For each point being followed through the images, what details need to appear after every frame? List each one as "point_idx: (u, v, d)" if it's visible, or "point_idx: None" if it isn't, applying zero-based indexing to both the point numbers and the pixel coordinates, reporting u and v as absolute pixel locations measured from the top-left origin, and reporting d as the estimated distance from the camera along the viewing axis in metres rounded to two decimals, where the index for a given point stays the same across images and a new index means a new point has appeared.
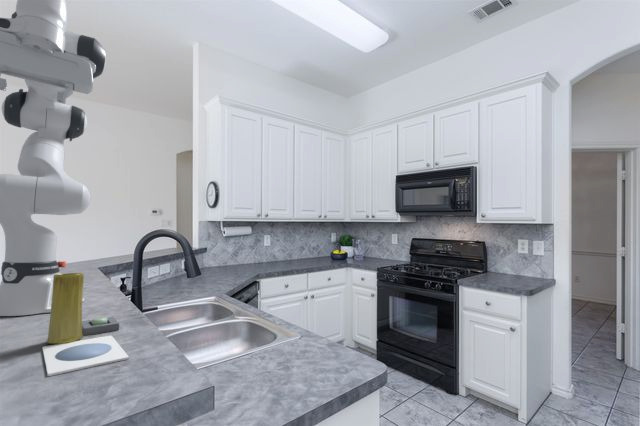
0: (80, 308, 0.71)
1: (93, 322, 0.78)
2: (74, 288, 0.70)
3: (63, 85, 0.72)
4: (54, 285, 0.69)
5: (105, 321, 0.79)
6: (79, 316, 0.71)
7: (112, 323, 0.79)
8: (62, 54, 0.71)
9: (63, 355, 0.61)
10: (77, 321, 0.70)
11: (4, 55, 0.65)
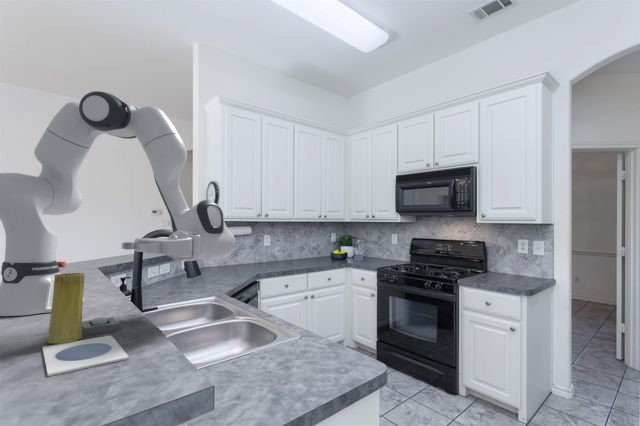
0: (80, 308, 0.71)
1: (93, 322, 0.78)
2: (75, 288, 0.70)
3: (143, 242, 0.87)
4: (55, 285, 0.69)
5: (105, 321, 0.79)
6: (80, 316, 0.71)
7: (112, 323, 0.79)
8: None
9: (63, 355, 0.61)
10: (77, 321, 0.70)
11: None
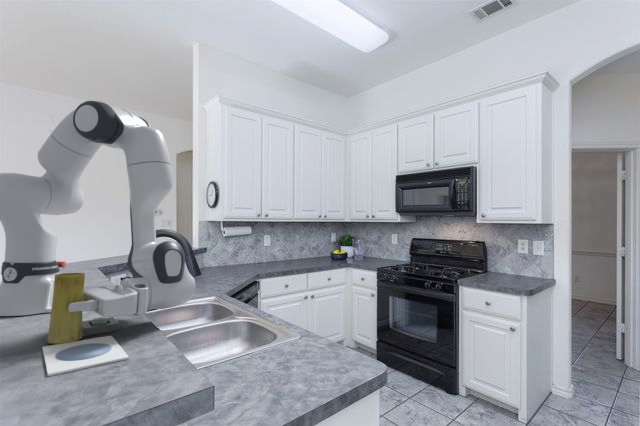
0: None
1: (93, 322, 0.78)
2: (75, 288, 0.70)
3: (84, 294, 0.76)
4: (55, 285, 0.69)
5: (105, 321, 0.79)
6: (80, 316, 0.71)
7: (112, 323, 0.79)
8: None
9: (63, 355, 0.61)
10: (77, 321, 0.70)
11: None
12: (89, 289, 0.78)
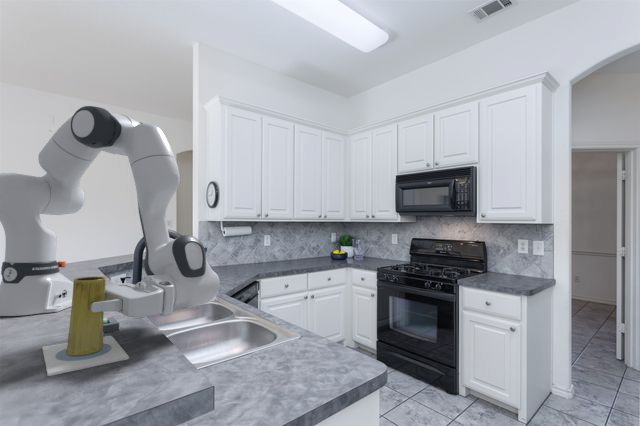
0: (102, 316, 0.65)
1: None
2: (96, 295, 0.63)
3: None
4: (74, 292, 0.62)
5: (105, 321, 0.79)
6: (101, 325, 0.65)
7: (112, 323, 0.79)
8: None
9: (63, 355, 0.61)
10: (99, 331, 0.64)
11: None
12: (109, 287, 0.72)
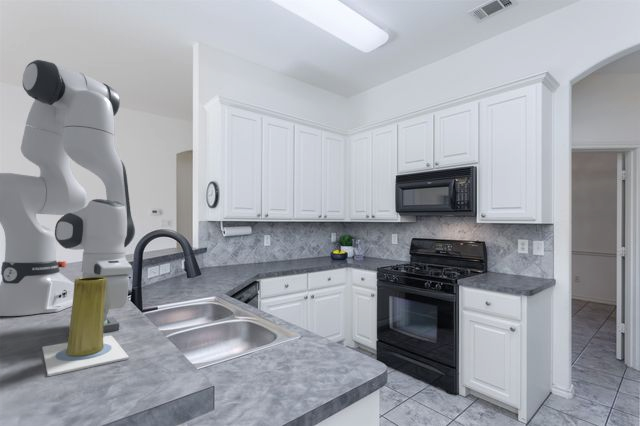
0: (102, 316, 0.65)
1: None
2: (97, 295, 0.63)
3: None
4: (75, 292, 0.62)
5: (105, 323, 0.79)
6: (101, 325, 0.65)
7: (112, 323, 0.79)
8: None
9: (63, 355, 0.61)
10: (99, 331, 0.64)
11: None
12: None
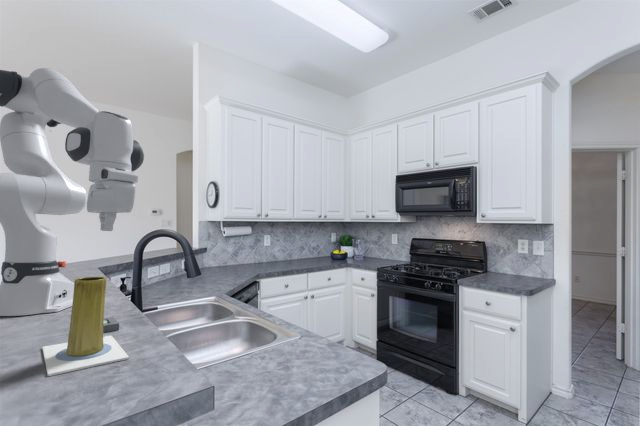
0: (102, 316, 0.65)
1: None
2: (97, 295, 0.63)
3: None
4: (75, 292, 0.62)
5: None
6: (101, 325, 0.65)
7: (112, 323, 0.79)
8: None
9: (63, 355, 0.61)
10: (99, 331, 0.64)
11: None
12: (92, 205, 0.82)
